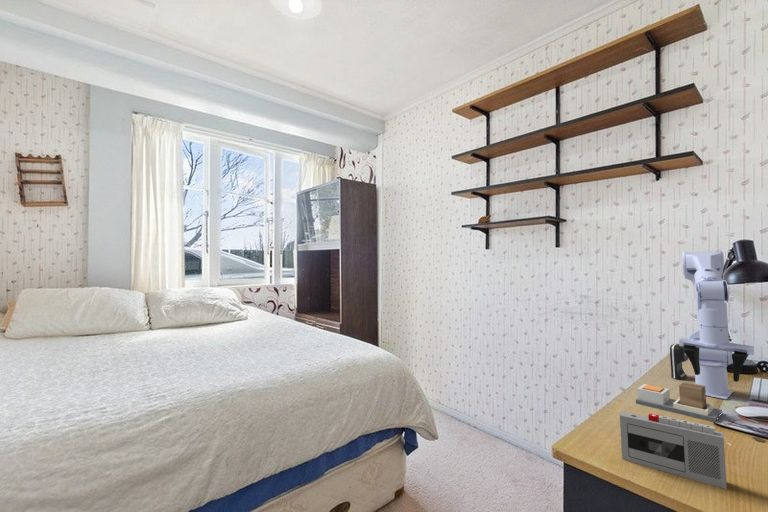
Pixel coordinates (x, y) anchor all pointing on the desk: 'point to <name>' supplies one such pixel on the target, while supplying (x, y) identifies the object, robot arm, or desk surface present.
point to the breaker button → (653, 388)
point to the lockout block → (693, 395)
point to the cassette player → (674, 447)
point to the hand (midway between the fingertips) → (716, 377)
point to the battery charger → (677, 361)
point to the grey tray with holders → (675, 404)
